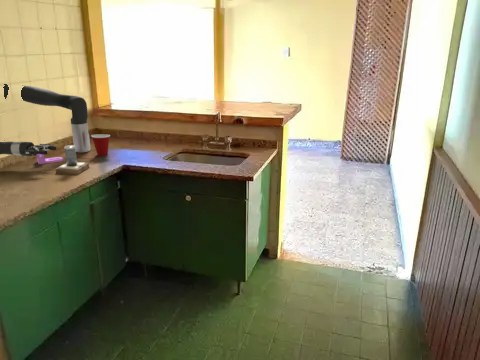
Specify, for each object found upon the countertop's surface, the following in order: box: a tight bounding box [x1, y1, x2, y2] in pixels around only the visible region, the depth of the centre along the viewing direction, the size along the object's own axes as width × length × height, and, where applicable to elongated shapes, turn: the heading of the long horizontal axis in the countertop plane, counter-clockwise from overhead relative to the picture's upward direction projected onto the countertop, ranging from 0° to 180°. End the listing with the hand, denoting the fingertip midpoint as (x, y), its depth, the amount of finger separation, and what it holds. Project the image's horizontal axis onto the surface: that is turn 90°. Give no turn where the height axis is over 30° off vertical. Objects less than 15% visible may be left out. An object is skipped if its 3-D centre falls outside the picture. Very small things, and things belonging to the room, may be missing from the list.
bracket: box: [36, 154, 64, 165], centre depth 232 cm, size 13×6×7 cm, turn 119°
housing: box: [63, 144, 78, 166], centre depth 216 cm, size 5×5×10 cm
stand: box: [55, 161, 90, 175], centre depth 218 cm, size 12×12×3 cm
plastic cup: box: [90, 133, 111, 157], centre depth 246 cm, size 11×11×12 cm
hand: (51, 150), depth 217 cm, fingers open, 8 cm apart
